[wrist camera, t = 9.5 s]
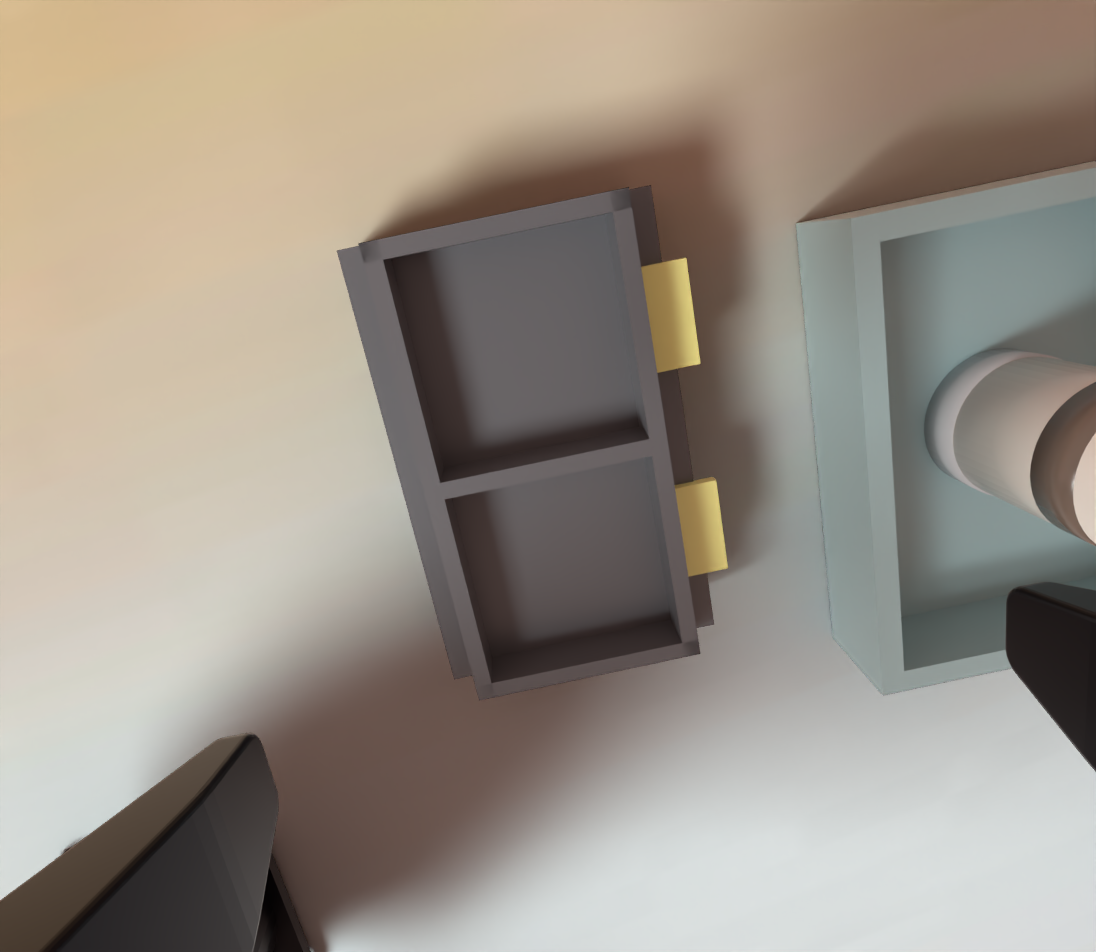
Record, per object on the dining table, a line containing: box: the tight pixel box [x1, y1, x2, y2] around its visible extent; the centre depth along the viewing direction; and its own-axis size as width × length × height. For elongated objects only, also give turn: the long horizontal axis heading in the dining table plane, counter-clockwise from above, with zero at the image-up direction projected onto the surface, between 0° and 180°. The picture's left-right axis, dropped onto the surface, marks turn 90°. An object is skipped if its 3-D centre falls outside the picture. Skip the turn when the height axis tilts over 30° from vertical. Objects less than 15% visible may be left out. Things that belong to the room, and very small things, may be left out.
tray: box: [796, 161, 1096, 695], centre depth 19 cm, size 12×9×3 cm
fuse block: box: [337, 185, 728, 700], centre depth 18 cm, size 11×8×3 cm
